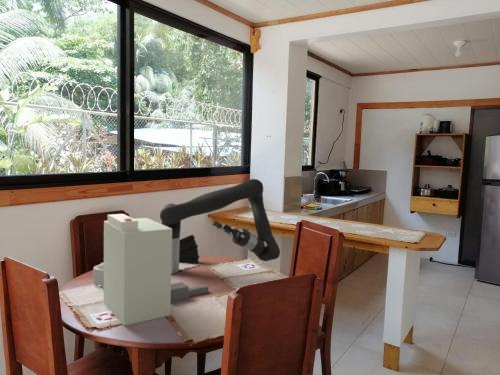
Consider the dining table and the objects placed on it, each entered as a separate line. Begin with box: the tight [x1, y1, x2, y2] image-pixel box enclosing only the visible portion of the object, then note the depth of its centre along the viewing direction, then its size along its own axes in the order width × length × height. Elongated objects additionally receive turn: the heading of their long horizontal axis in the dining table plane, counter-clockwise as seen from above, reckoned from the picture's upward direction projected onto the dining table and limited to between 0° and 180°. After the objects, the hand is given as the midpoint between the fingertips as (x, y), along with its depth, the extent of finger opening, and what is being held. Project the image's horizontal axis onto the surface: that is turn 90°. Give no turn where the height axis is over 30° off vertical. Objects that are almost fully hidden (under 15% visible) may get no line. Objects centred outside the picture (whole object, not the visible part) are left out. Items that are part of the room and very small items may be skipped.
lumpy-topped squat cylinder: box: [92, 261, 104, 286], centre depth 174 cm, size 10×13×9 cm
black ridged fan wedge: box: [179, 234, 200, 265], centre depth 209 cm, size 4×13×15 cm, turn 82°
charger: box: [171, 281, 209, 303], centre depth 162 cm, size 6×20×5 cm, turn 127°
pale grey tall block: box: [103, 213, 172, 327], centre depth 146 cm, size 24×17×36 cm
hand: (218, 224), depth 168 cm, fingers open, 8 cm apart
